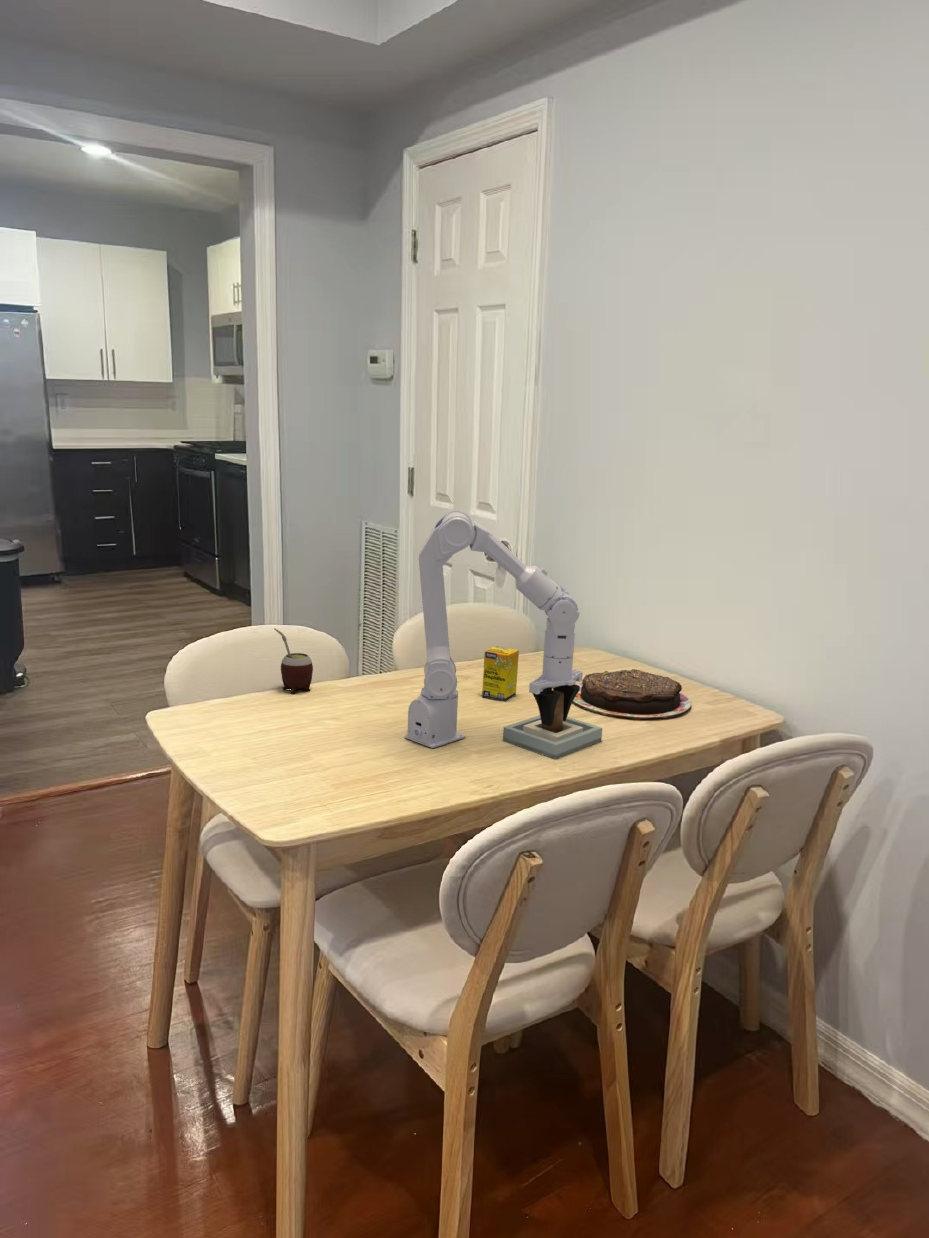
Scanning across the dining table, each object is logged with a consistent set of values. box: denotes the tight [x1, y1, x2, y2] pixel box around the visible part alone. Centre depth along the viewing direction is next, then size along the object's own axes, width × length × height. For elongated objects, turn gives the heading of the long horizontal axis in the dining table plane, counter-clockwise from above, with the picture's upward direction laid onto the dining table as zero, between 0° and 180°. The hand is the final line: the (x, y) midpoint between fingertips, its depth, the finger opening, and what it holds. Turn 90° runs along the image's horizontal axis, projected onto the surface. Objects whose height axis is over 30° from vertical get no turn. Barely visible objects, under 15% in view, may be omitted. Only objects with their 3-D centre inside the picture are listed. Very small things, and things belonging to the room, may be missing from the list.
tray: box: [502, 714, 603, 760], centre depth 179 cm, size 15×13×3 cm
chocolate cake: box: [572, 668, 692, 721], centre depth 207 cm, size 28×28×7 cm
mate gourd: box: [273, 627, 314, 695], centre depth 202 cm, size 8×8×15 cm
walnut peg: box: [542, 689, 564, 733], centre depth 178 cm, size 4×4×8 cm
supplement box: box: [481, 645, 520, 703], centre depth 205 cm, size 6×6×11 cm
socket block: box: [523, 720, 583, 742], centre depth 179 cm, size 8×8×2 cm
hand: (553, 721), depth 178 cm, fingers closed on walnut peg, 4 cm apart
